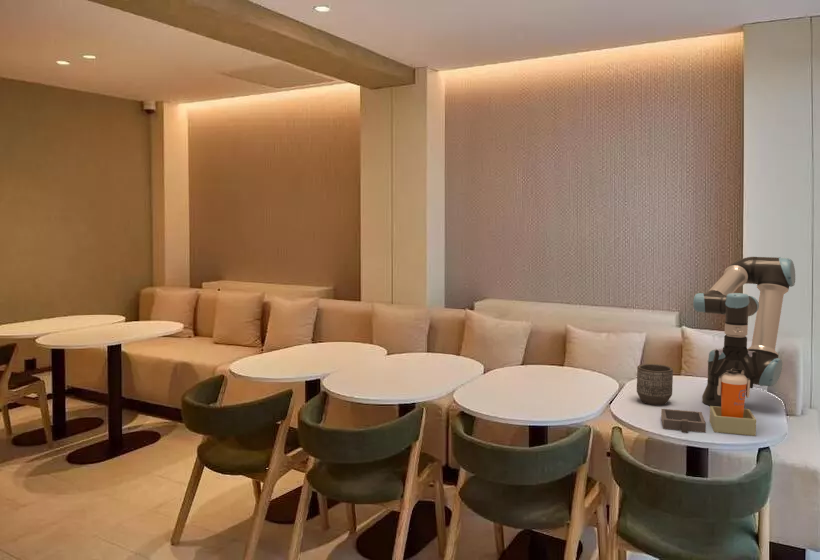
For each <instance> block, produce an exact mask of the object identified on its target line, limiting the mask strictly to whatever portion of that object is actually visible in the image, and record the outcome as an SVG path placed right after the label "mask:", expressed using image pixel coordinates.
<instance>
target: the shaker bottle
mask: <svg viewBox="0 0 820 560" xmlns="http://www.w3.org/2000/svg"><path fill="white" fill-rule="evenodd" d="M746 384H747V377H746V376H745V375H744V371H743V370H739V369H734V368H732V369H731V370H726V373H723V374H722V375H721V416H724V417H736V418H743V414H744V409H745V404H746Z"/></svg>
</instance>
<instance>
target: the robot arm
mask: <svg viewBox="0 0 820 560" xmlns="http://www.w3.org/2000/svg"><path fill="white" fill-rule="evenodd" d="M745 284H746V285H747V284H750V285H751V284H752V285H756V288H757V289H758V291H759V297H758V299H756V297H754V296H751V295H748V294H747V293H742V292H736V291H737V290H738V288H740V287H742V286H744V285H745ZM795 284H796V269H795V264H794V261H793V260H792V259H790V258H789V257H781V256H780V257H774V256H773V257H772V256H771V257H769V256H747V257H744V258H741V259H739V260H735V261H733V262H732V263H730V265H728V266H727V267H726V268H725V270H724V271H723V275H722V276H721V277H720V278H719V279H718V280H717V281H716V282H715V283H714V284H713V285H712V286H711V288H709V290H708V291H707V292H706V293H703V292H702V293H695V295H694V297H693V300H692V301H693V302H692V305H693V309H694V311H695V312H697V313H703V314H713V315H724V316H725V321H724V334H725V335H724V337H723V338H724V339H723V341H724V342H723V346H722V348H715V349H712V350H711V351H709V353H708V360H707V383H706V386H705V389H704V391H703V394H702V398H701V401H702V403H703V404H705V405H707V406H709V407H710V406H717V407H721V375H722V374H723V373H726V370H731V369H732V368H734V369H739V370H743V371H744V375H745V376H746V377H747V384H746V394H745V398H750V395H751V394H750V392H751V391H750V390H751V389H753V388H754V385H757V386H761V387H773V386H775V385H776V384H777V383H778V382H779V380H780V376H781V374H782V370H783V361H782V359H781V358H780V357H779V353H778V352H777V351H776V345H777V339H778V333H779V326H780V319H781V316H782V315H781V314H782V307H783V301H784V295H785V294H787V293H789V291H790V287H794V286H795ZM755 314H756V315H755ZM754 315H755V321H754V328H753V333H752V339H751V346H749V347H748V337H747V335H748V331H749V330H748V328H749V326H748V325H749V317H752V316H754Z"/></svg>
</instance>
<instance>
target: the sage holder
mask: <svg viewBox="0 0 820 560" xmlns="http://www.w3.org/2000/svg"><path fill="white" fill-rule="evenodd" d="M709 423H710V426H711V428H712V431H713V433H717V434H720V433H721V434H728V435H738V436H740V435H741V436H749V437H751V436H752V437H756V435H757V418H756V417H755V416H754V414H753V413H752V411H751V409H750V408H744V414H743V418H736V417H724V416H721V407H717V406H710V405H709Z"/></svg>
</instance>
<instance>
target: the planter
mask: <svg viewBox="0 0 820 560" xmlns="http://www.w3.org/2000/svg"><path fill="white" fill-rule="evenodd" d="M636 368H637V371H636V394H637V395H638V397H639V399H640V401H641V402H642V403H644V404H646V405H652V406H664V405H666V404H667V403H668V401H670V399H671V397H672V396H673V381H674V379H673V378H674V374H673V373H674V369H673V367H671V366H669V365H664V364H658V363H657V364H655V363H654V364H653V363H643V364H639V365H637V367H636Z"/></svg>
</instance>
